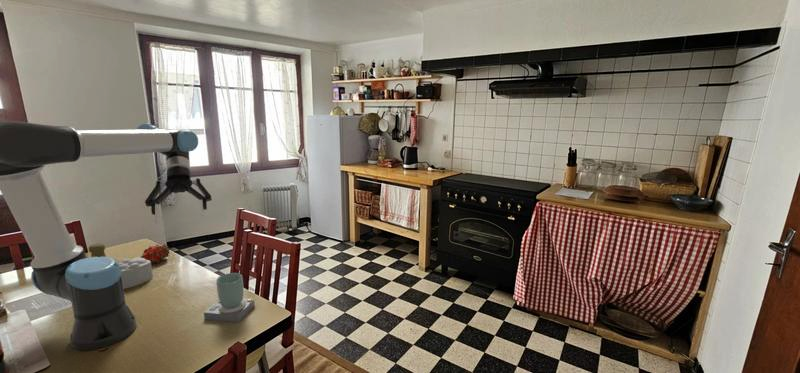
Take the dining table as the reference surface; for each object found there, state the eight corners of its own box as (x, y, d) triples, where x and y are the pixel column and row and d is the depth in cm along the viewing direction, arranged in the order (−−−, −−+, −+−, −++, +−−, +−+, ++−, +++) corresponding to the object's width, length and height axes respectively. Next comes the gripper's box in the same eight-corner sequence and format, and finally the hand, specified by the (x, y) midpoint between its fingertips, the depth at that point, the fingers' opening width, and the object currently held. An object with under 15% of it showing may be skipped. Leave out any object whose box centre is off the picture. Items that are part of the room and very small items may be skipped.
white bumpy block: (156, 278, 138) (153, 258, 136) (118, 292, 127) (115, 271, 125) (142, 272, 143) (139, 253, 141) (104, 285, 131) (101, 264, 129)
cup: (227, 314, 110) (224, 286, 108) (214, 306, 114) (211, 279, 112) (249, 303, 116) (247, 276, 114) (235, 296, 120) (233, 270, 118)
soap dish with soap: (238, 322, 110) (238, 314, 110) (204, 319, 111) (203, 311, 111) (254, 305, 120) (254, 298, 119) (222, 302, 121) (222, 295, 121)
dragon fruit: (173, 260, 158) (144, 273, 148) (164, 247, 160) (134, 259, 150) (174, 250, 153) (144, 262, 143) (164, 237, 155) (134, 248, 145)
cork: (101, 271, 142) (96, 247, 140) (87, 271, 142) (82, 246, 140) (113, 265, 148) (109, 241, 146) (99, 265, 148) (95, 241, 146)
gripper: (216, 174, 138) (220, 219, 128) (140, 178, 126) (139, 229, 116) (215, 163, 132) (219, 209, 123) (135, 167, 120) (134, 218, 111)
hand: (180, 219), depth 119 cm, fingers open, 13 cm apart
